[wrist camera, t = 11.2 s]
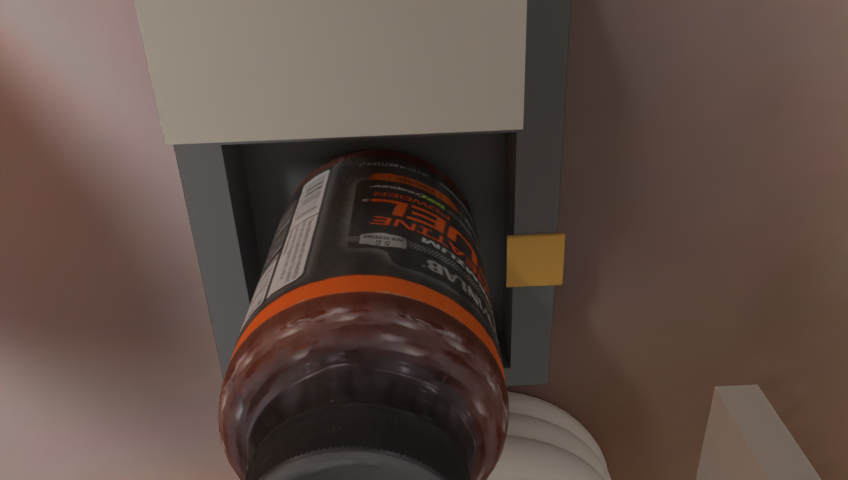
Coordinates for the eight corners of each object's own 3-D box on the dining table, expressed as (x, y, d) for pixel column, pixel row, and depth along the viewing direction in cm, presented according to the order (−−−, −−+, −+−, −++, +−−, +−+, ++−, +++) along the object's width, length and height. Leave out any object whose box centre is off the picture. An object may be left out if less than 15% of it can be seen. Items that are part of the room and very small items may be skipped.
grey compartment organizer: (117, -304, 16) (-137, -451, 8) (575, -322, 16) (726, -483, 8) (243, 351, 24) (172, 567, 17) (541, 338, 24) (602, 547, 17)
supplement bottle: (513, 199, 21) (611, 495, 11) (415, 340, 24) (425, 689, 14) (335, 103, 20) (268, 350, 10) (248, 265, 22) (124, 596, 12)
